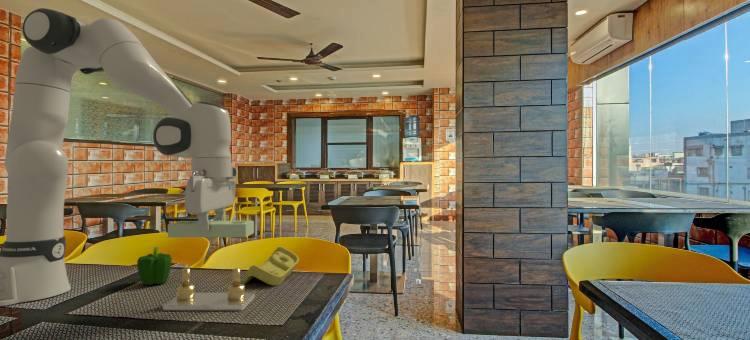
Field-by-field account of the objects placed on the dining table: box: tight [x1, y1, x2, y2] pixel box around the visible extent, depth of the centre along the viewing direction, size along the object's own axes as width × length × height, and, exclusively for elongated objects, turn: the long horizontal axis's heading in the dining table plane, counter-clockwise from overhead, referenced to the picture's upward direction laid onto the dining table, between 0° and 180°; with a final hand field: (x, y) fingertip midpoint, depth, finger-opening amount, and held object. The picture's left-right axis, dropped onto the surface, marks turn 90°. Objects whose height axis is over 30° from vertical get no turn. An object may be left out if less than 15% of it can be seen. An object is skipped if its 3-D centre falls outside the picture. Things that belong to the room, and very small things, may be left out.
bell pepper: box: [136, 246, 173, 286], centre depth 109 cm, size 8×8×10 cm
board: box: [167, 220, 255, 238], centre depth 92 cm, size 18×6×3 cm, turn 90°
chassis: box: [162, 267, 256, 311], centre depth 92 cm, size 18×9×8 cm, turn 90°
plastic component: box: [240, 246, 300, 287], centre depth 116 cm, size 20×7×10 cm
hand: (212, 228), depth 92 cm, fingers closed on board, 6 cm apart
